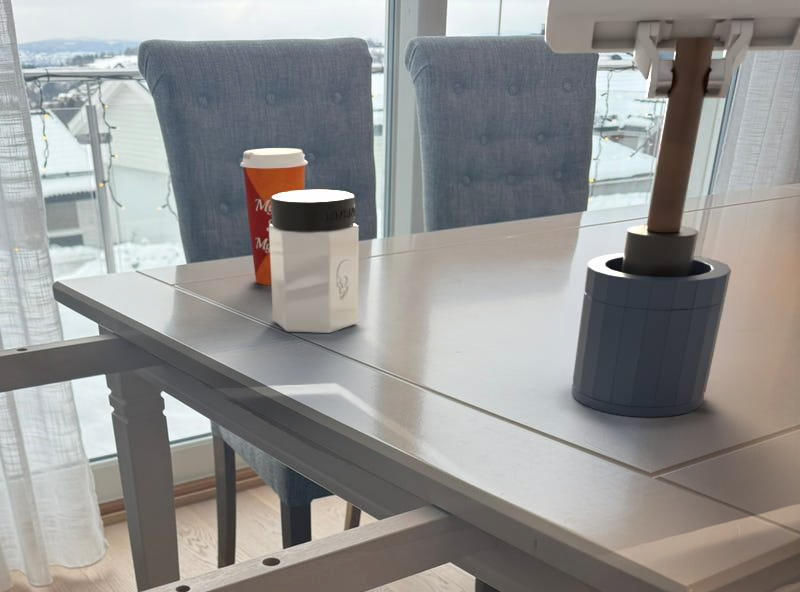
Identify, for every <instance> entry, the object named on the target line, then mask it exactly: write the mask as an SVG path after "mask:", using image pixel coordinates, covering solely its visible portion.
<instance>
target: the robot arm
mask: <svg viewBox="0 0 800 592" xmlns="http://www.w3.org/2000/svg"><path fill="white" fill-rule="evenodd" d="M545 18H546V19H545V28H544V33H545V34H544V41H545V43H546V45H548V47H549V49H551V51H552V52H553V53H555V54H614V53H615V54H616V53H617V54H619V53H620V54H621V53H624V54H625V53H627V54H628V53H633V60H632V62H633V63H634V65H635V66H636V67H637V69H638V70H639V72H640V73H641V75H642V76H643V79H645V80H646V81H647V83H646V92H645V93H646V94H645V99H646V100H652V99H653V100H654V99H656V100H657V99H658V100H659V99H667V98H668V97H669V90H670V89H671V84H672V78H673V73H672V71H673V67H674V58H672V59H671V58H670V59H669V58H667V59H666V58H662V56H661V54H660V53H675V48H676V42H677V38H678V37H702V36H714V37H715V41H714V47H713V52H723V57H722V58H711V63H710V68H709V74H708V79H707V85H706V90H705V95H704V99H727V97H728V93H729V90H730V87H731V83H732V78H733V74H734V73H735V72H736V71H737V69H739V68H740V66H741V65H742V63H743V62H744V61H745V59H746V56H747V54H748V52H757V51H759V52H761V51H764V52H765V51H800V0H548V1H547V9H546V17H545Z"/></svg>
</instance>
